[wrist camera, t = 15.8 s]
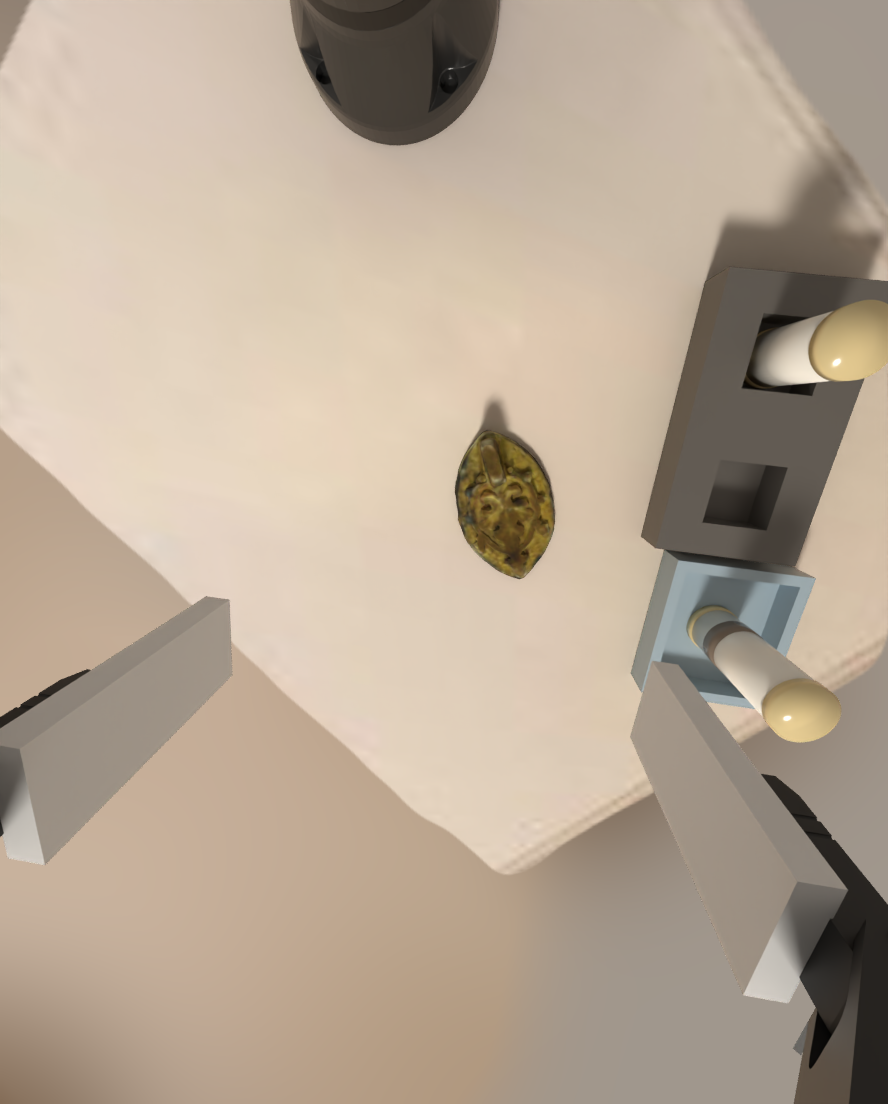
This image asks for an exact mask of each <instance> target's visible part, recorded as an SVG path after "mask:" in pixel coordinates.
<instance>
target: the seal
mask: <svg viewBox="0 0 888 1104" xmlns="http://www.w3.org/2000/svg"><path fill="white" fill-rule="evenodd" d="M455 495H456V504H457V508H458V521H459V524H460V526H461V528H462V531H463V534H464V537H465V539H466V541H467V542H468V544H469V545H470V546H471V548H472V549H473V550H474V551H475V552H476V553H477V554H478V555H479V556H480V557H481V558H482V559H483V560H484V561H486V562H487V563H488V564H490V565H491V566H492V567H493V568H495V569H496V570H498V571H500V572H501V573H504V574H506V575H508V576H511V577H514V578H517V579H521V578H524V577H525V576H526V575H527V574H528V573H529V572H530V571H531V569H532V568H533V567H534V565H535V564H536V563H537V562H538V560H539V559H540V558H541V556H542V555H543V554H544V552H545V550H546V548H547V546H548V544H549V542H550V540H551V537H552V534H553V531H554V524H555V518H554V506H553V500H552V495H551V490H550V486H549V483H548V481H547V479H546V476H545V474H544V472H543V470H542V469H541V467H540V466H539V464H538V463H537V461H536V460H535V459H534V458H533V456H532V455H531V454H530V453H529V452H528V451H527V450H525V449H524V448H523V447H522V446H520V445H519V444H518V443H516V442H515V441H513V440H511V439H509V438H508V437H505V436H503V435H501V434H498V433H496V432H493V431H484V432H483V433H482V434H481V435H480V436H479V437H478V438H477V440H476V441H475V442H474V443H473V445H472V446H471V447H470V448H469V450H468V451H467V453H466V455H465V456H464V458H463V460H462V463H461V465H460V468H459V471H458V476H457V481H456V485H455Z"/></svg>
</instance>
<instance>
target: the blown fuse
mask: <svg viewBox="0 0 888 1104" xmlns="http://www.w3.org/2000/svg"><path fill="white" fill-rule="evenodd" d="M686 630H687V634H688V637H689V638H690V639H691V641H692V642H693V643H694V644H695V645H696V646H697V647H698V648H700V649H701V650H702V651H703V652H704V653H705V655H706V656H707V657H708V658H709V660H710V661H711V662H712V663H713V664H714V665H715V666H716V667H717V668H718V669H719V670H720V671H721V672H722V673H723V674H724V675H725V676H726V677H727V678H728V679H729V681H730V682H731V683H732V684H733V685H734V686H735V687H736V688H737V689H738V690H739V691H740V692H741V694H742V695H743V696H744V697H745V698H746V699H747V700H748V701H749V702H750V703H751V704H752V706H753V707H754V708H755V709H756V710H757V711H758V712H759V713H760V714H761V715H762V716H763V718H764V720H765V722H766V723H767V724H768V725H769V726H770V727H771V728H772V729H773V731H775V732H776V734H777V735H779V736H780V737H782V738H783V739H786V740H789V741H793V742H809V741H813V740H816V739H818V738H821V737H823V736H825V735H826V734H828V733H829V732H830V731H831V730H832V729H833V728H834V727H835V726H836V725H837V723H838V721H839V719H840V716H841V705H840V702H839V700H838V698H837V697H836V696H835V695H834V694H833V693H832V692H831V691H829V690H828V689H827V688H826V687H824V686H823V685H822V684H820V683H819V682H817V681H814V680H813V679H812V678H811V677H810V676H808V675H807V674H806V673H805V672H803V671H802V670H801V669H800V668H798V667H797V666H796V665H795V664H793V663H792V662H791V661H790V660H788V659H787V658H786V657H785V656H783V655H782V654H781V653H780V652H778V651H777V650H776V649H775V648H774V647H772V646H771V645H770V644H769V643H767V642H766V641H765V640H764V639H763V638H762V637H761V636H760V635H758V634H757V633H756V632H755V631H753V630H752V629H751V628H750V627H748V626H747V625H746V624H744V623H742V622H741V621H740V620H739V619H738V618H737V617H736V616H735V615H734V614H733V613H732V612H731V611H729V610H728V609H726V608H725V607H722V606H718V605H709V606H704V607H702V608H700V609H698V610H697V611H695V612H694V613H693V614H692V615H691V616H690V618H689V620H688V622H687V626H686Z"/></svg>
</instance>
